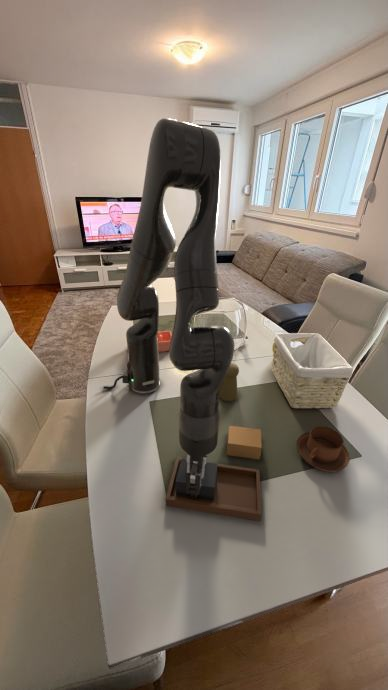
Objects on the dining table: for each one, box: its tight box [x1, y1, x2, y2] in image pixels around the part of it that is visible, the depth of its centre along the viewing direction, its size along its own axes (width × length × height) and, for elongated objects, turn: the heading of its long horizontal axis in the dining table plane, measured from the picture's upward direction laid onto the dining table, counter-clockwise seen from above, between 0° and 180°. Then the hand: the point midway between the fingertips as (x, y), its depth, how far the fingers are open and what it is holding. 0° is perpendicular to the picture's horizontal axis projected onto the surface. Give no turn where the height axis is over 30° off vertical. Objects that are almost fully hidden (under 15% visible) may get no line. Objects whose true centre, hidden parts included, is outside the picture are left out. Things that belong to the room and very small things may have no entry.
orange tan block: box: [226, 425, 263, 461], centre depth 74 cm, size 8×6×4 cm
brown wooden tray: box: [165, 457, 262, 522], centre depth 64 cm, size 19×11×2 cm, turn 81°
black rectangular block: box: [176, 458, 218, 500], centre depth 64 cm, size 8×6×4 cm
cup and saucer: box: [296, 425, 350, 472], centre depth 72 cm, size 12×12×6 cm
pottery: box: [158, 330, 172, 353], centre depth 119 cm, size 18×10×10 cm, turn 104°
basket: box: [271, 332, 354, 409], centre depth 95 cm, size 24×16×15 cm
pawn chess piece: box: [219, 362, 240, 402], centre depth 91 cm, size 6×6×11 cm
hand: (196, 482), depth 64 cm, fingers closed on black rectangular block, 6 cm apart
